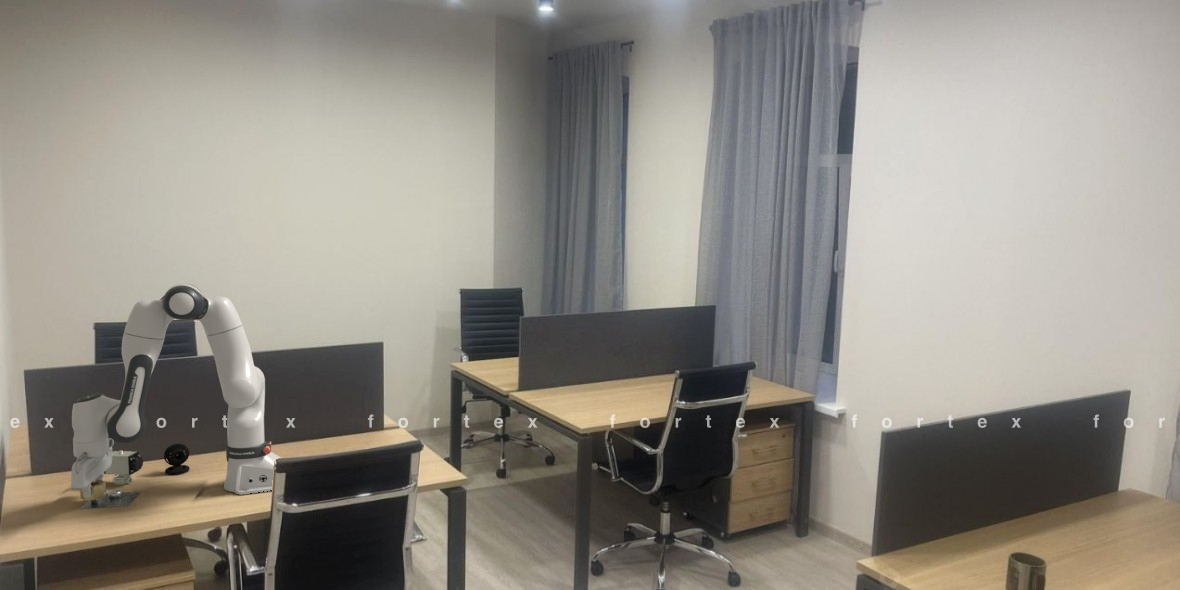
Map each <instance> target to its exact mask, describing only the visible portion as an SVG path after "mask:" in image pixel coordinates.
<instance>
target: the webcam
mask: <svg viewBox="0 0 1180 590" xmlns="http://www.w3.org/2000/svg"><path fill="white" fill-rule="evenodd" d="M189 456H190V449H189V447H188V445H186V444H184V443H173V444H170V445H169V446H167V448H165V451H164V452H163V459H164V461H165V462H166V463H167V465H169V466H168V467H167V468H165V470H164V473H165V474H166V475H168V476H179V475H184V474H186V473H188V472H189V471H190V466H189V465H187V464H184V463H185V462H187V461H188V459H189Z"/></svg>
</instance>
